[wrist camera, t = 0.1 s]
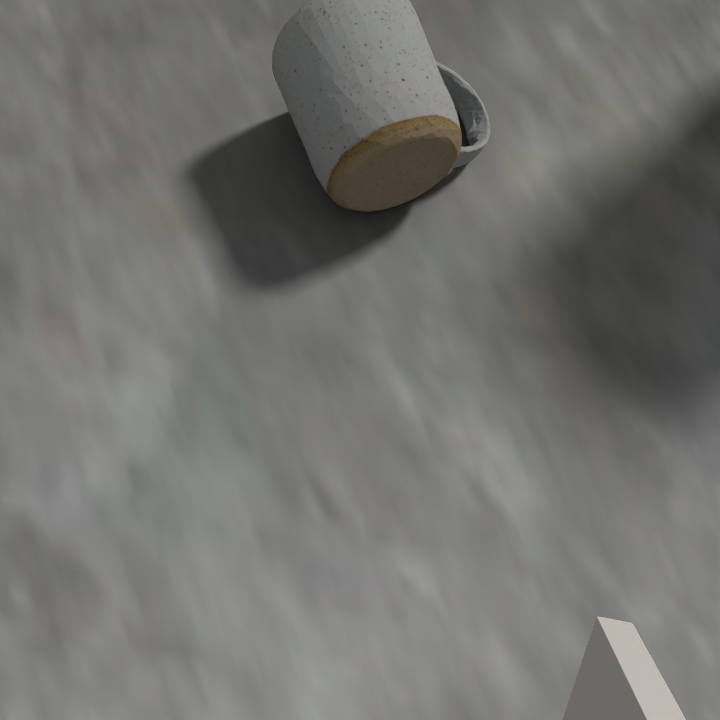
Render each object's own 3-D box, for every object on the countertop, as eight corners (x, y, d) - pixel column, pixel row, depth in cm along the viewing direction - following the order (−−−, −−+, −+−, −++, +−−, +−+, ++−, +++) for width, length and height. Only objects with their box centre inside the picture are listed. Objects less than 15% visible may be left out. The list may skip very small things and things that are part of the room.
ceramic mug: (324, 238, 35) (335, 142, 28) (270, 111, 37) (267, -8, 30) (508, 184, 37) (561, 82, 30) (446, 67, 40) (483, -53, 32)
